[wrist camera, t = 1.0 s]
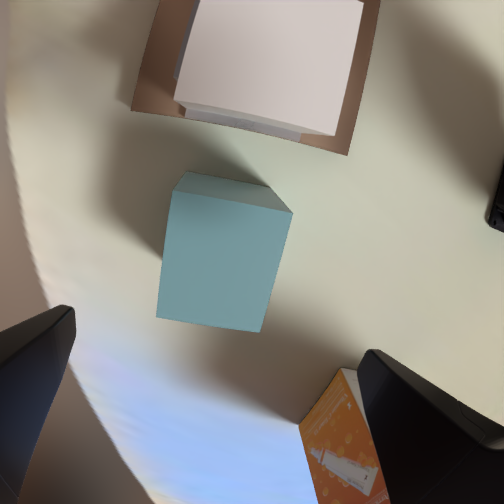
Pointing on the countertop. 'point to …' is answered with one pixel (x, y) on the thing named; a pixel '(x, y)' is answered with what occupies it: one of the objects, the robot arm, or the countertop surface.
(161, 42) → the rail board
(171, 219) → the block
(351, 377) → the small box
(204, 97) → the mounted modules
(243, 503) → the countertop surface
